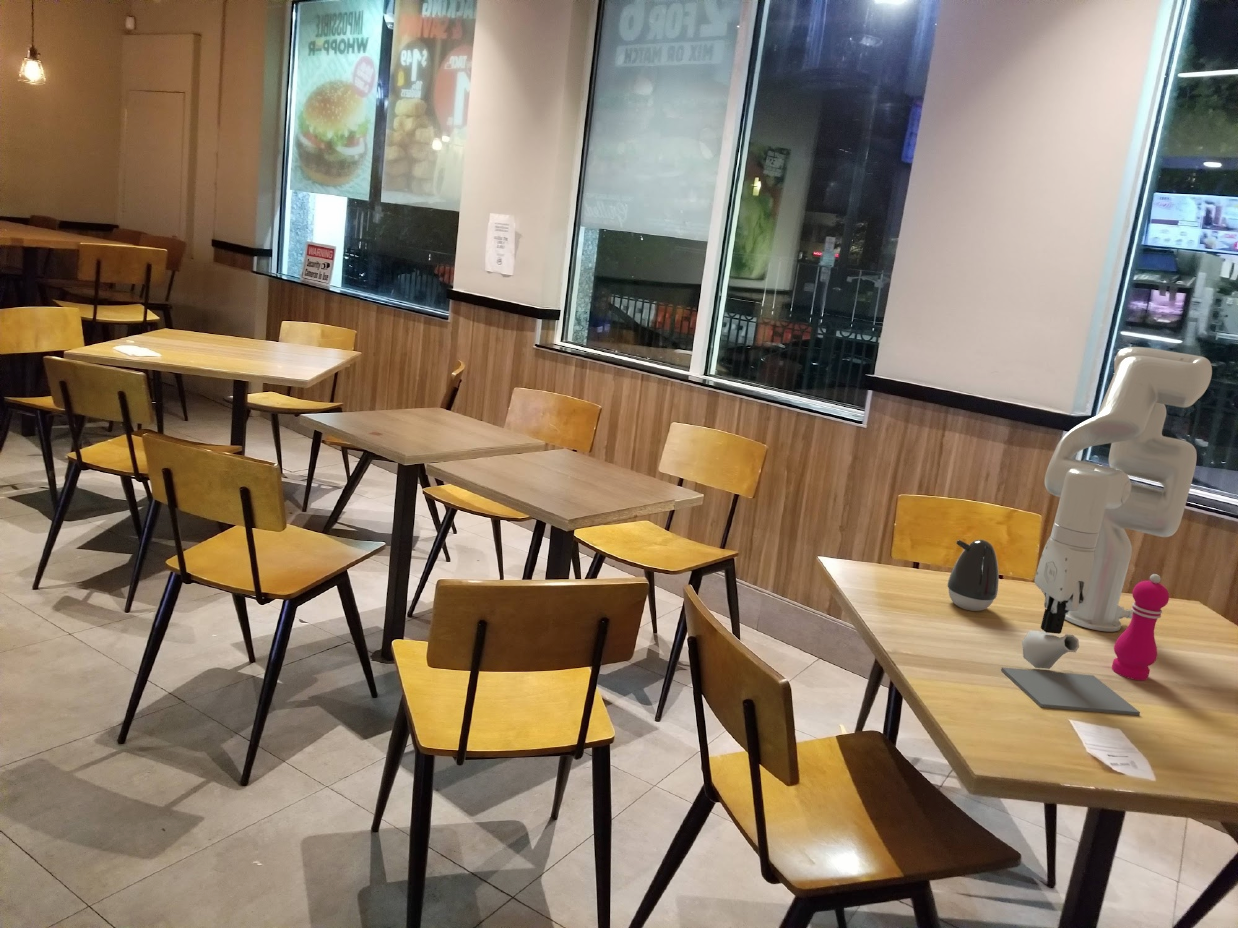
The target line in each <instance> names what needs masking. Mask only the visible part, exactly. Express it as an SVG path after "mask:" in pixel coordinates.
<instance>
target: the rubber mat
mask: <svg viewBox="0 0 1238 928" xmlns="http://www.w3.org/2000/svg"><path fill="white" fill-rule="evenodd" d="M1000 670H1001V672H1002V673H1003V674H1005V676H1006V677H1007V678H1009V679H1010V680H1011V682H1013V683H1014V684H1015V685H1016V686H1017V687H1018V688H1019V689H1021V691H1023V692H1024V693H1025V695H1027V697H1029V698H1030V699H1032V701H1033V702H1034V703H1036V704H1037V706H1039V708H1045V709H1058V710H1067V711H1068V710H1070V711H1082V712H1092V713H1093V712H1094V713H1107V714H1117V715H1119V714H1120V715H1130V716H1131V715H1132V716H1140V715H1141V711H1140V710H1139V709H1137V708H1135V707H1134V706H1133V705H1131V703H1129V702H1128V701H1126V699H1124V698H1123V697H1122V696H1120V695H1119V694H1118V693H1116V692H1115V691H1114V690H1113V689H1111V688H1110V687H1109V686H1108V685H1107V684H1106V683H1104V682H1102V680H1100V679H1099V678H1097V677H1096V676H1095V675H1094V674H1093V675H1092V674H1084V673H1083V674H1081V673H1073V672H1072V673H1071V672H1070V673H1069V672H1059V671H1058V672H1057V671H1049V670H1048V671H1047V670H1037V669H1023V668H1014V667H1012V668H1011V667H1003V666H1002V667H1001V669H1000Z"/></svg>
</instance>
